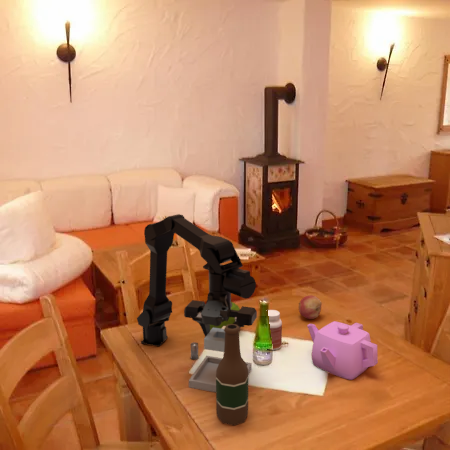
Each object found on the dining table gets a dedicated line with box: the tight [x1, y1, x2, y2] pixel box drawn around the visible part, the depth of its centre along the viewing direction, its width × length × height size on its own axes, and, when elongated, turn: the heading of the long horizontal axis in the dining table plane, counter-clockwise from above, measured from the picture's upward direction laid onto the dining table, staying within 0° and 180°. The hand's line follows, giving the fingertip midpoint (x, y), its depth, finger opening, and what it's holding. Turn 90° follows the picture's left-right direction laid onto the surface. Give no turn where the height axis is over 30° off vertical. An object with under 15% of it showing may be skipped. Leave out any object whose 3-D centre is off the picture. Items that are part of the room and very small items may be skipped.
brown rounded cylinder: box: [190, 341, 199, 361], centre depth 152 cm, size 2×2×4 cm
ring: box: [203, 326, 225, 353], centre depth 139 cm, size 9×7×3 cm
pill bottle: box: [267, 309, 283, 351], centre depth 157 cm, size 6×6×11 cm
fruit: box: [298, 294, 323, 320], centre depth 176 cm, size 8×8×8 cm
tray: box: [188, 355, 253, 393], centre depth 141 cm, size 14×14×2 cm
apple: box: [210, 301, 241, 330], centre depth 166 cm, size 11×11×11 cm
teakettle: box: [306, 320, 379, 381], centre depth 146 cm, size 17×17×12 cm
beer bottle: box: [215, 324, 249, 426], centre depth 122 cm, size 8×8×24 cm
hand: (220, 341), depth 139 cm, fingers closed on ring, 7 cm apart
